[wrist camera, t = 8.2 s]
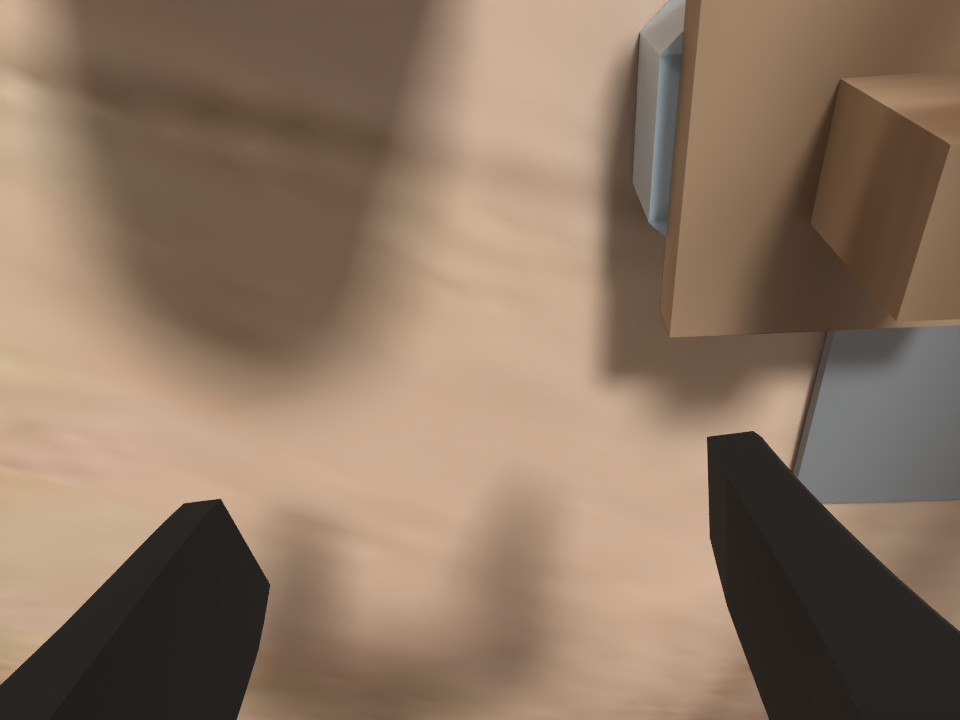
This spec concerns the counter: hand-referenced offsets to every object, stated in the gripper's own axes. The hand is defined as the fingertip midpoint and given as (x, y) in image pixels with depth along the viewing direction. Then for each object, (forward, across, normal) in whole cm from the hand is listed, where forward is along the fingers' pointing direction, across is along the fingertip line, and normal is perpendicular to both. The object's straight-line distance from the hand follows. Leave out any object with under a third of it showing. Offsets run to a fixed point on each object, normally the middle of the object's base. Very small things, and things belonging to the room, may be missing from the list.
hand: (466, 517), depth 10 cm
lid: (+7, -8, -2) cm, 11 cm away
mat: (+10, -13, +8) cm, 18 cm away
